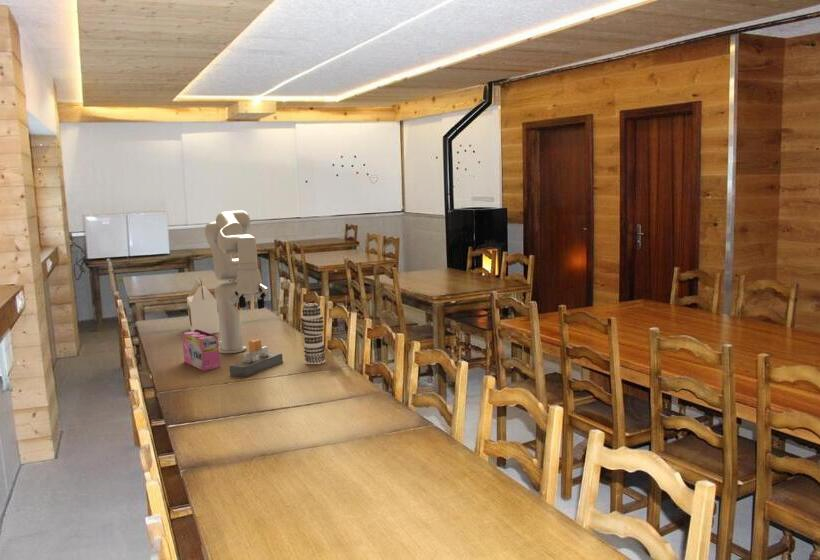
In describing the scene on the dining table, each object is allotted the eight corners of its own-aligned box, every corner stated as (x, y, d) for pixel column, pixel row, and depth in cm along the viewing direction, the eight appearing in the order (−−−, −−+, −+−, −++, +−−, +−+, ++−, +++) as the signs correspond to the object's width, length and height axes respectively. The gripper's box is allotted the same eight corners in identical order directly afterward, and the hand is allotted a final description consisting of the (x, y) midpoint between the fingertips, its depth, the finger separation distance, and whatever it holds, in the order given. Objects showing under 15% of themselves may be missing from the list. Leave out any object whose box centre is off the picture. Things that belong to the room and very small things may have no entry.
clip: (243, 372, 306) (240, 344, 304) (264, 364, 318) (262, 336, 316) (249, 373, 304) (246, 344, 303) (270, 364, 316) (268, 337, 315)
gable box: (189, 328, 408) (184, 277, 405) (214, 325, 413) (209, 275, 409) (193, 336, 388) (188, 282, 384) (219, 332, 392) (214, 279, 389)
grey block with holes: (230, 375, 302) (229, 366, 302) (267, 361, 323) (267, 352, 323) (245, 377, 299) (245, 367, 298) (282, 362, 320) (282, 353, 319)
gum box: (182, 361, 332) (179, 331, 330) (199, 358, 337) (196, 328, 335) (203, 371, 313) (200, 339, 311) (221, 367, 318) (218, 335, 316)
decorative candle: (322, 365, 311) (318, 305, 308) (301, 365, 313) (296, 306, 310) (329, 359, 320) (324, 301, 317) (308, 359, 322) (304, 302, 318)
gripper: (225, 267, 306) (229, 308, 308) (259, 268, 298) (262, 310, 300) (238, 265, 312) (241, 305, 315) (271, 265, 304) (274, 307, 307)
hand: (252, 307), depth 308 cm, fingers open, 9 cm apart
